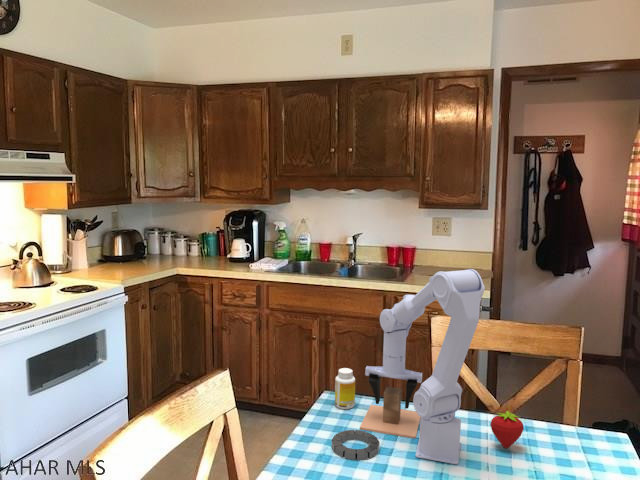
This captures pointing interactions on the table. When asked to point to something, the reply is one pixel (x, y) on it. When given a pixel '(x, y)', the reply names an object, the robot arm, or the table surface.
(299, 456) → the table surface
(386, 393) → the link block
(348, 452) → the holder ring
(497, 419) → the strawberry
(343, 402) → the supplement bottle
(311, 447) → the table surface
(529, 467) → the table surface
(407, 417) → the terracotta tile
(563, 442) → the table surface
